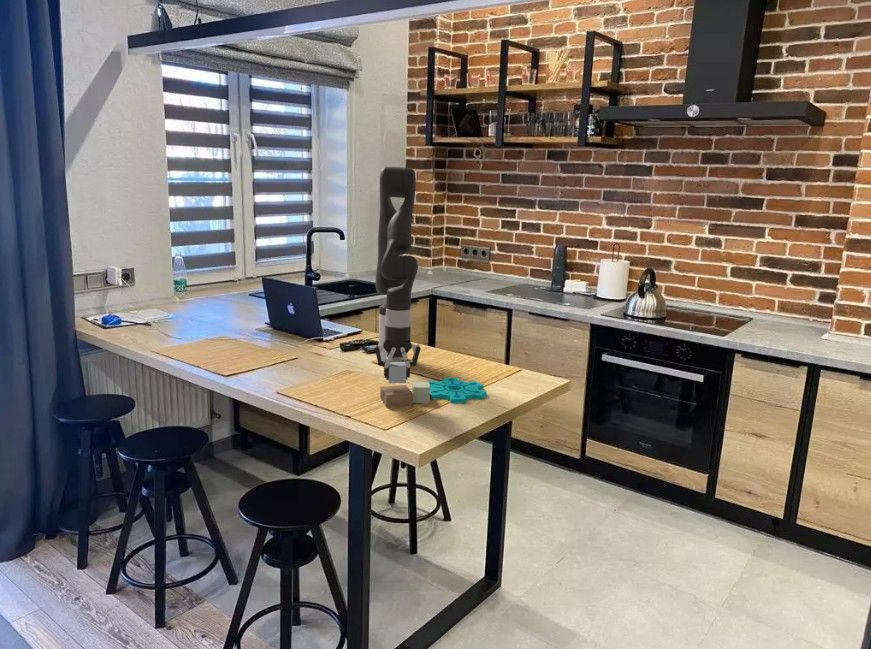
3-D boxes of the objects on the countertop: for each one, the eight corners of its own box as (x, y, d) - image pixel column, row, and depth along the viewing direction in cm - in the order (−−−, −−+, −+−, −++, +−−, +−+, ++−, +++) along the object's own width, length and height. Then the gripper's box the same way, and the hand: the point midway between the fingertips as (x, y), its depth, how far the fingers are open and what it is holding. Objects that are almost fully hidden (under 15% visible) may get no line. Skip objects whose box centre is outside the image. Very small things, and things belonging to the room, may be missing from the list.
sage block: (428, 397, 202) (411, 397, 201) (428, 382, 201) (412, 381, 200) (429, 403, 197) (412, 403, 196) (430, 387, 196) (413, 387, 195)
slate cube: (387, 377, 197) (388, 362, 196) (404, 377, 198) (404, 361, 197) (389, 383, 192) (389, 366, 191) (406, 383, 193) (406, 366, 192)
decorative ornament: (490, 404, 199) (479, 382, 218) (490, 399, 199) (479, 377, 218) (425, 403, 197) (420, 382, 216) (426, 398, 196) (420, 377, 216)
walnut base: (380, 399, 199) (380, 386, 199) (405, 397, 202) (405, 384, 201) (386, 408, 192) (386, 395, 191) (412, 406, 194) (412, 393, 194)
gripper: (420, 320, 196) (419, 374, 200) (372, 320, 194) (371, 375, 198) (424, 326, 189) (422, 382, 193) (374, 326, 187) (373, 383, 190)
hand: (396, 378), depth 195 cm, fingers closed on slate cube, 5 cm apart
